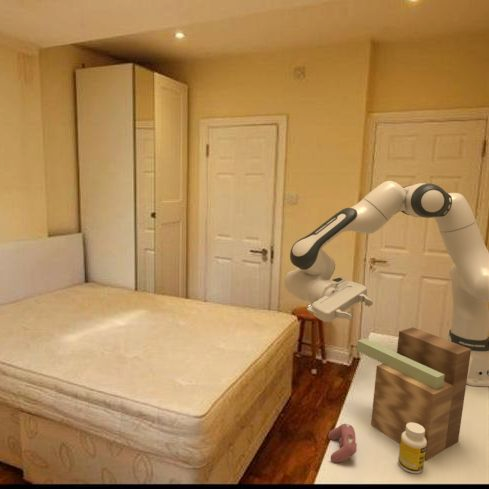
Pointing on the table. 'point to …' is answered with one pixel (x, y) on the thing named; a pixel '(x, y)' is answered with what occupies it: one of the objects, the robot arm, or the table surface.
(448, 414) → the pedestal
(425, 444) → the supplement bottle
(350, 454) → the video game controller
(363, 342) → the bar
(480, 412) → the table surface
